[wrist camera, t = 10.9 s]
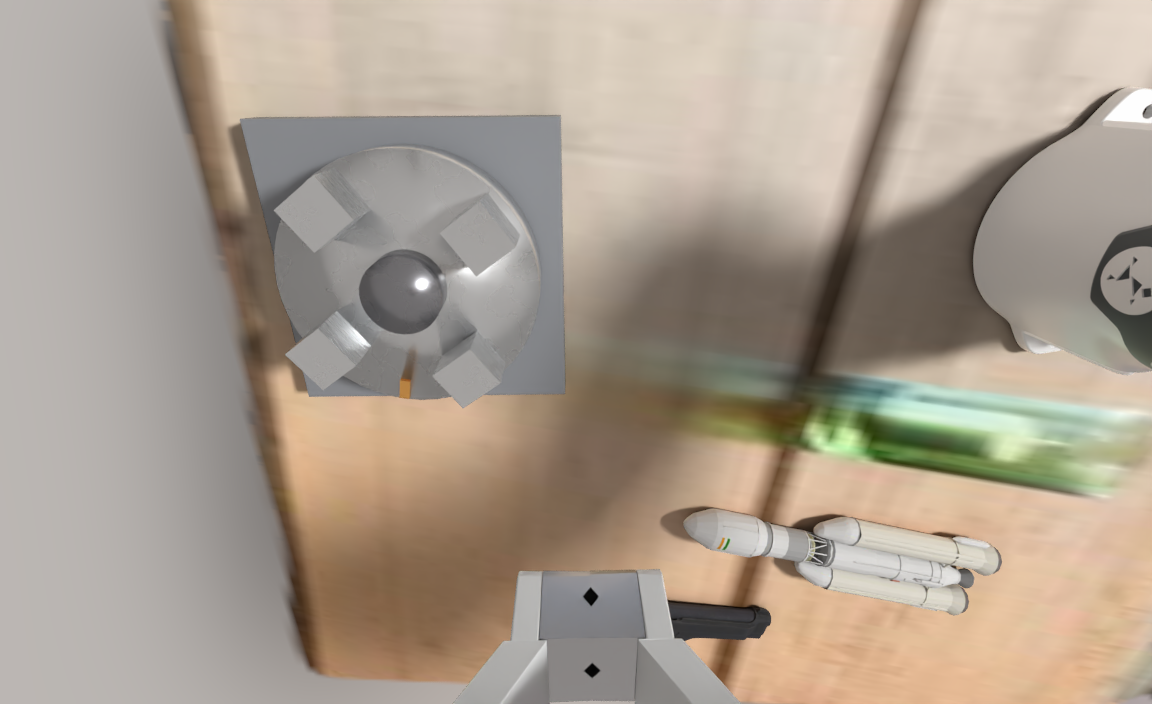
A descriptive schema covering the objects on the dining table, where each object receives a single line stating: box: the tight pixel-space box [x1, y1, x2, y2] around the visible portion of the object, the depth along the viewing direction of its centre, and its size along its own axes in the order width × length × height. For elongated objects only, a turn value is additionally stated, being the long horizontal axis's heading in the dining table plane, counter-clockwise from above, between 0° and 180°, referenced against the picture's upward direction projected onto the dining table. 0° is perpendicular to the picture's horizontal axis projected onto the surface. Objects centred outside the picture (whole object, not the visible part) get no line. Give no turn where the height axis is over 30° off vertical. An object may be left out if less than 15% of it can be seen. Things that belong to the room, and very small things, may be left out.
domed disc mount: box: [274, 144, 541, 408], centre depth 36 cm, size 17×17×6 cm
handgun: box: [668, 602, 771, 641], centre depth 58 cm, size 3×21×14 cm
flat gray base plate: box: [240, 115, 565, 397], centre depth 40 cm, size 20×20×2 cm
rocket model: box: [683, 508, 1002, 615], centre depth 51 cm, size 9×4×30 cm
